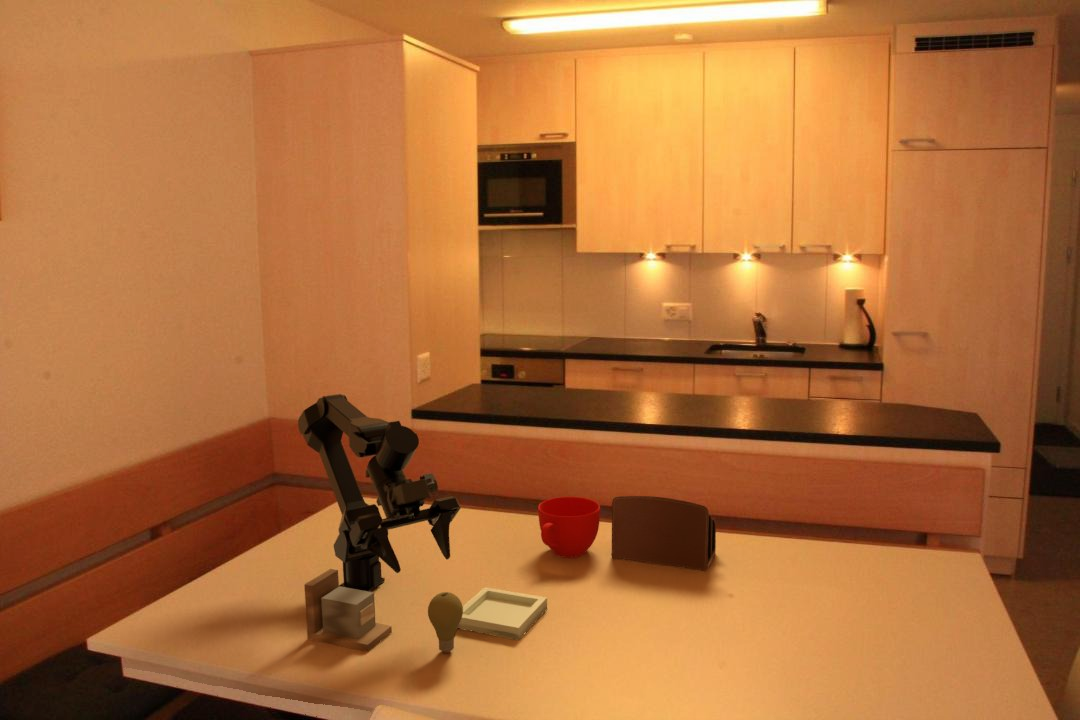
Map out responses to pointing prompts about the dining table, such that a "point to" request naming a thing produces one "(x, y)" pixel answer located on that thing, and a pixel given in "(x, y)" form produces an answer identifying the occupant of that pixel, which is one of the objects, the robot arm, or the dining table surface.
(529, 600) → the tray
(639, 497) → the letter holder
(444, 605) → the light bulb
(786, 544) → the dining table surface
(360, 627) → the bookend
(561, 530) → the ceramic cup
